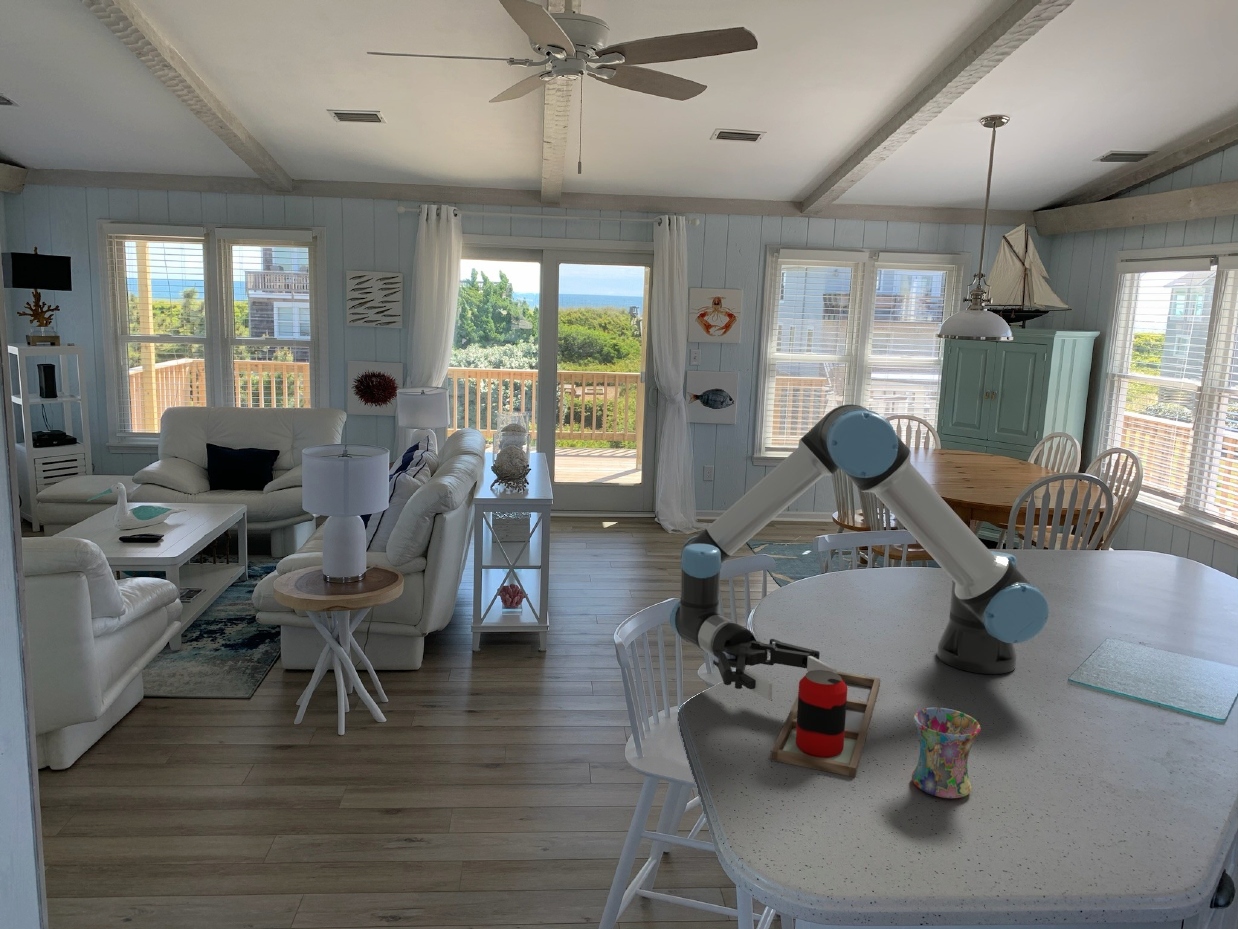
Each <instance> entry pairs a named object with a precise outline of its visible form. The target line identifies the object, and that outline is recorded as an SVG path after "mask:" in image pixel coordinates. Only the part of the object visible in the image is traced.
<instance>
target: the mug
mask: <svg viewBox="0 0 1238 929" xmlns="http://www.w3.org/2000/svg"><path fill="white" fill-rule="evenodd" d="M913 722H914V724H915V727H916V729H917V733H918V737H919V738H918V739H919V756H918V757H919V758H918V762H917V765H916V766H915V769H914V770H913V771H912V773H911V780H912V782H913V784H914V785H915V786H916V787H917V788H919V790H921V791H923V792H925V793H927V794H930V795H931V796H935V797H938V798H942V799H958V798H964V797H966V796H968V795H969V794H970V793H971V792H972V789H973V787H972V786H973V785H972V783H971V780H970V778H969V770H968V769H969V768H968V760H969V755H970V751H971V750H972V749H971V748H972V746H973V744H974V742H975V740H976V738H977V736H978V735H979V733H980V732H981V725H980V723H979V722H978V720H976V719H975V718H974V717H972V716H970V715H969V714H967V713H964V712H961V711H958V710H955V709H950V708H945V707H927V708H926V707H925V708H921V709H919V710H916V712H915V713H914V715H913Z"/></svg>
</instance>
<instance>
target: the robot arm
mask: <svg viewBox="0 0 1238 929" xmlns="http://www.w3.org/2000/svg"><path fill="white" fill-rule="evenodd" d="M911 455H912V450H911V449H910V448H909V447H908V446H907V444H905V443H904V442H903V440H902V439H901V438H900V437H899V436H898V434H897V433H896V430H895V429H894V427H893V425H892V423H891V422H890V421H888V420H887V418H885V417H884V416H883V415H881V414H879V413H878V412H875V411H873V410H870V409H868V408H866V407H863V406H861V405H859V404H853V403H852V404H843V405H839V406H837V407H835V408H833V409H831V410H830V411H829V412H827V413H826V414H825V415H824V416H823V417H822V418H821V419H820V420H819V421H818V422H817V423H815V425H814V426H813V427H811V429H809V430H808V432H807V433H806V434H804V435H803V436H802V437H801V438H800V439H799V440H798V447H797V448H796V449H795V450H794V451H792V452H791V453H790V454H789V455H788V456H787V457H786V458H784V460H782V461H781V462H780V463H778V465H776V467H774V468H773V469H772V470H770V472H769V473H768V474H766V475H765V476H764V477H763V478H762V479H761V480H760V481H758V482H757V483H756V484H755V485H754V486H752V488H750V489H749V490H748V491H747V492H746V493H745V494H743V495H742V496H741V497H740V498H739V499H738V500H737V501H736V502H735V503H733V504H732V505H731V506H730V507H729V508H728V509H726V511H725V512H723V513H722V514H721V515H720V516H719V517H717V519H715V520H714V521H713V522H712V523H711V524H710V525H708V526H707V527H706V528H705V529H704V530H703V531H701V532H700V533H699V534H698V535H695V536H692V537H689V539H688V540H686V542H685V543H684V545H683V547H682V549H681V552H680V558H681V561H680V570H681V571H680V600H679V601H678V602H677V603H675V605H674V606H673V607H672V611H671V612H670V614H669V625H670V628H671V629H672V632H674V633H675V634H676V635H678V636H679V637H680V638H681V639H682V640H683V641H685V642H687V643H690V644H692V645H694V646H696V647H697V648H699V649H700V650H702V651H703V652H705V653H707V654H709V655H710V656H712V659H713V661H712V664H713V665H714V666H715V667H717V668H718V671H719V675H720V676H721V679H722V681H723V684H724V685H725V686H731V685H732V683H734V688H735V689H737V690H741V689H743V687H745V688H747V689H748V690H751V691H753V692H754V693H755V694H757V695H760V696H761V697H762V698H764V699H765V700H767V701H770V700H772V699H773V683H772V682H770V681H769V680H767V679H766V678H764V677H763V676H761V675H758V673H756V672H754V671H752V670H750V669H749V668H747V667H746V666H751V667H752V666H756V665H760V664H761V665H764V666H765V665H767V666H774V665H775V664H777V665H781V666H783V665H784V666H787V667H789V666H790V667H796V668H802V669H806V673H807V672H809V671H813V670H825V671H830V672H834V673H836V674H837V672H838V671H837V670H838V668H835V667H834V666H832V665H829V664H828V663H826V662H825V661H823V660H820V655H821V652H820V651H819V650H815V649H812V648H811V649H810V648H808V647H803V646H799V645H794V644H791V643H787V642H782V641H780V640H777V639H776V638H770V639H769V643H764V642H761V641H759V640H757V639H756V637H755V635H754V633H753V632H752V631H751V630H749V629H748V628H746V627H744V626H742V625H741V624H738V623H737V622H735V621H733V620H731V619H729V618H727V617H725V616H723V615H721V614H719V609H720V608H719V607H720V606H719V605H720V584H721V570H722V564H723V563H724V562H725V561H727V560H728V559H729V558H730V557H732V555H733V554H734V553H736V552H737V550H739V549H740V548H741V547H743V546H744V545H745V544H746V543H747V542H748V541H749V540H751V539H752V538H753V537H754V536H755V535H756V534H758V533H759V532H760V531H761V530H762V529H763V528H765V527H766V526H767V525H768V524H769V523H770V522H771V521H772V520H774V519H775V518H776V517H777V516H779V514H781V513H782V512H783V511H784V510H785V509H787V508H788V507H789V506H790V505H791V504H792V503H794V502H795V501H796V500H797V499H798V498H800V496H802V495H803V494H804V493H805V492H806V491H808V490H809V489H810V488H811V487H812V486H813V485H814V484H815V483H817V482H818V481H819V480H820V479H822V478H823V477H824V476H827V477H829V476H831V477H832V475H834V474H835V473H836V472H837V471H839V470H841V471H842V472H843V473H844V474H845V475H846V476H847V477H848V478H849V479H850V480H851V482H852V483H853V484H854V485H855V486H856V487H857V488H858V489H859V490H860V491H861V492H863V493H872V494H874V495H875V496H876V497H877V498H878V499H879V500H880V501H881V503H883V505H884V506H885V507H886V508H887V509H888V511H889V512H891V514H892V515H893V516H894V517H895V518H896V519H897V520H898V522H899V523H900V524H901V525H902V526H903V527H904V528H905V529H906V530H907V532H908V533H910V534H911V536H912V537H913V538H914V539H915V540H916V541H917V542H918V543H919V544H920V546H921V547H922V548H923V549H924V550H925V551H926V552H927V553H928V554H929V556H931V558H932V559H933V560H934V561H935V562H936V563H937V564H938V565H939V567H940V568H941V569H942V570H943V571H944V572H945V573H946V574H947V575H948V576H949V577H950V578H951V579H952V584H951V592H950V593H951V594H950V595H951V596H950V607H949V615H948V616H949V617H948V622H947V624H946V626H945V628H944V630H943V632H942V634H941V636H940V639H939V641H938V644H937V651H936V655H937V658H938V659H939V660H940V661H941V662H943V663H944V664H946V665H948V666H950V667H953V668H955V669H959V670H962V671H966V672H971V673H975V674H984V675H1000V674H1001V675H1002V674H1007V673H1010V672H1012V671H1014V670H1015V669H1016V665H1017V652H1016V648H1015V645H1014V644H1021V643H1025V642H1028V641H1030V640H1033V639H1034V638H1035V637H1036V636H1037V635H1039V634H1040V633H1041V631H1043V629H1044V628H1045V627H1046V625H1047V622H1048V618H1049V613H1050V607H1049V603H1048V600H1047V598H1046V597H1045V596H1044V594H1043V592H1042V591H1041V590H1040V589H1039V588H1038V587H1036V586H1035V585H1033V584H1032V583H1031V582H1029V580H1028V579H1027V578H1026V577H1025V576H1024V575H1023V574H1022V572H1020V570H1019V569H1018V564H1017V557H1016V556H1014V555H1013V554H1011V553H1007V552H1000V551H992V550H991V551H990V550H989V549H988V547H987V546H986V545H985V544H984V543H983V542H982V541H981V539H979V537H977V535H976V533H974V532H973V531H972V530H971V529H970V527H968V525H967V524H966V523H965V522H964V521H963V520H962V519H961V517H960V516H959V515H958V514H957V513H956V512H955V511H954V510H953V509H952V507H951V506H950V505H949V504H948V502H946V501H945V500H944V499H943V498H942V496H941V495H940V494H939V493H938V492H937V491H936V490H935V489H934V488H933V487H932V485H931V484H930V483H929V482H928V481H927V480H926V478H925V477H924V476H923V475H922V474H921V473H920V472H919V471H918V470H917V468H916V467H914V465H913V464H912V463H911V459H912V458H911ZM768 654H769V656H770V657H769V659H768ZM732 668H734V669H735V671H734V670H732ZM746 668H747V669H746Z"/></svg>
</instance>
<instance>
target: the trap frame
mask: <svg viewBox="0 0 1238 929" xmlns="http://www.w3.org/2000/svg"><path fill="white" fill-rule="evenodd" d="M837 674H838V675H839V676H841V678H842V680H843V681H845V682H844V683H846V682H848V683H847V684H852V683H853V685H858V684H859V686H864V687H870V686H871V687H870V688H871V691H870V694H869V696H868V697H869V698H868V701H867V702H866V701H861V700H858V699H857V700H856V699H850V698H847V703H846V718H845V734H844V748H843V751H842V752H841V753H840V754H838V755H837V756H834V757H828V758H822V757H815V756H811V755H808V754H806V753H804V752H802V751H801V750H800V749H799V748H798V746H797V745H796V728H797V710H798V696H797V697H796V698H795V701H794V703H793V706H792V708H791V710H790V712H789V713H788V715H787V718H786V720H785V723H783V726H782V729H781V730H780V732H779V735H778V736H777V739H776V741H775V743H774V745H773V747H772V749H771V752H770V760H771V761H774V762H780V763H785V764H789V765H794V766H798V767H799V766H800V767H804V768H809V769H813V770H818V771H822V772H823V771H824V772H828V773H833V774H837V775H842V776H848V777H850V778H851V777H853V778H856V776H857V772H858V769H859V766H860V762H861V757H862V755H863V751H862V750H864V746H865V744H866V740H865V739H867V736H868V731H869V727H870V724H871V720H872V717H873V714H874V708H875V706H876V702H877V698H878V695H879V691H880V688H881V678H878V677H872V676H866V675H860V674H856V673H855V674H854V673H849V672H841V671H837ZM879 687H880V688H879Z"/></svg>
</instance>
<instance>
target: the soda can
mask: <svg viewBox="0 0 1238 929" xmlns="http://www.w3.org/2000/svg"><path fill="white" fill-rule="evenodd" d="M797 693H798V696H797V697H798V710H797V728H796V745H797V746H798V748H799V749H800V750H801V751H802V752H804V753H806V754H808V755H811V756H815V757H822V758H828V757H834V756H837V755H838V754H840V753H841V752H842V751H843V748H844V734H845V718H846V703H847V699H848V686H847V684H846V682H844V681H843V680H842V678H841V676H839V675H838V674H836V673H834V672H830V671H825V670H813V671H809V672H807V671H806V673H805V675H804V676H803V677H802V678H800V680H799V682H798V692H797Z"/></svg>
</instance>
